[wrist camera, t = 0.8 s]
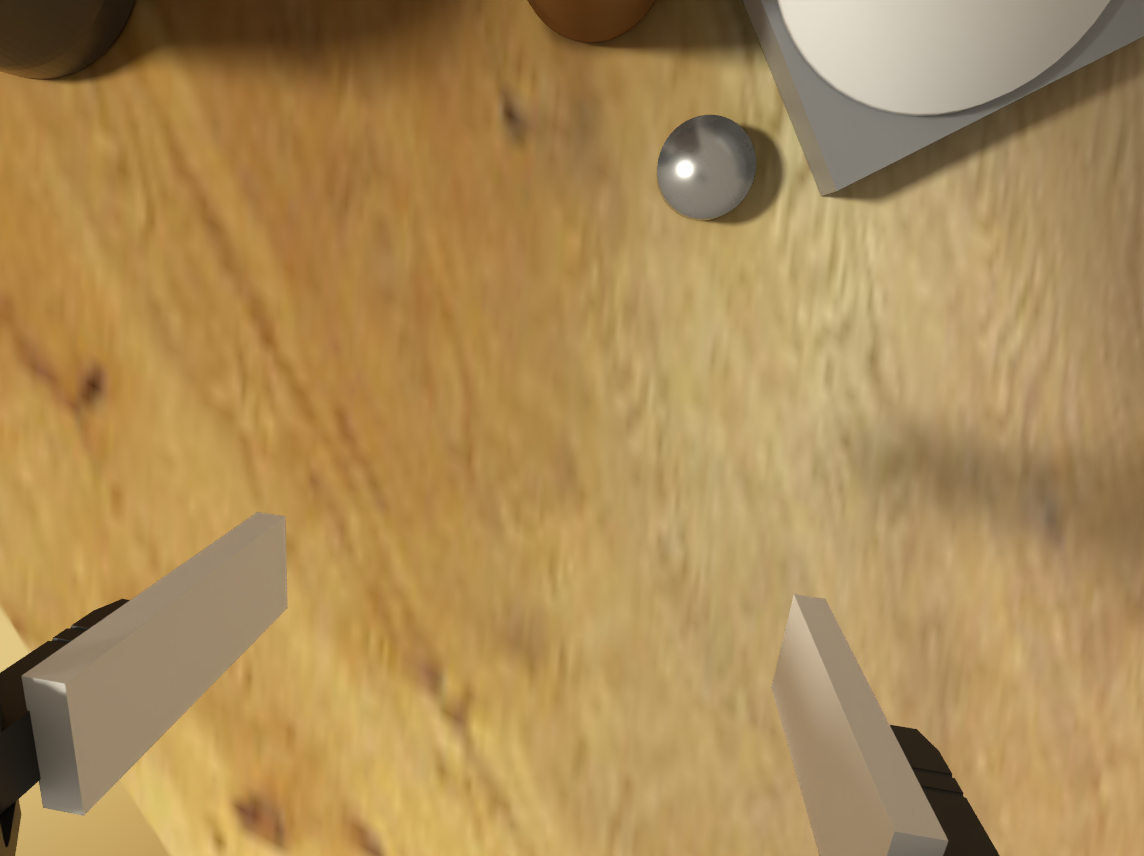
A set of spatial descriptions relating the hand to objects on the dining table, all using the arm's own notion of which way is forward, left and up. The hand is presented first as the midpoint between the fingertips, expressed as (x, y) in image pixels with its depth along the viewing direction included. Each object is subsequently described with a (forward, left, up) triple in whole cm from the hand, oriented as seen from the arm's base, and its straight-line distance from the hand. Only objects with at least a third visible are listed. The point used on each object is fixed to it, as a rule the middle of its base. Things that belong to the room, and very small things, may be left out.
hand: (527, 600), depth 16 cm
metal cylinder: (-9, +11, -24) cm, 27 cm away
